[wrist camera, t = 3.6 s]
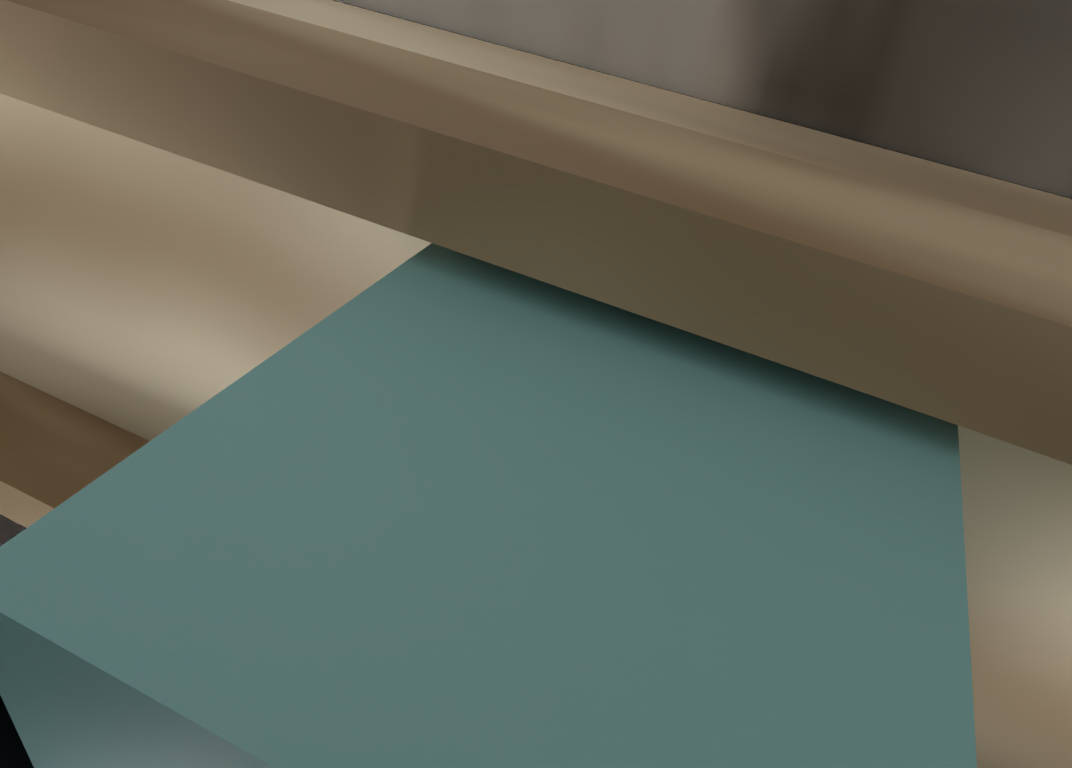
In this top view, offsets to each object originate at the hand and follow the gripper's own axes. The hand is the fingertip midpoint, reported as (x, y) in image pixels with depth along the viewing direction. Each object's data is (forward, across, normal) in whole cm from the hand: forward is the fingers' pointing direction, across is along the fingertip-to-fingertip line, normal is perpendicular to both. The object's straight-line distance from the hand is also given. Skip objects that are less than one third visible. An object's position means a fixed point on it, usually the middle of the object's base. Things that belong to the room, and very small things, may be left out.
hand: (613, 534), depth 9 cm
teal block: (+1, 0, 0) cm, 1 cm away
